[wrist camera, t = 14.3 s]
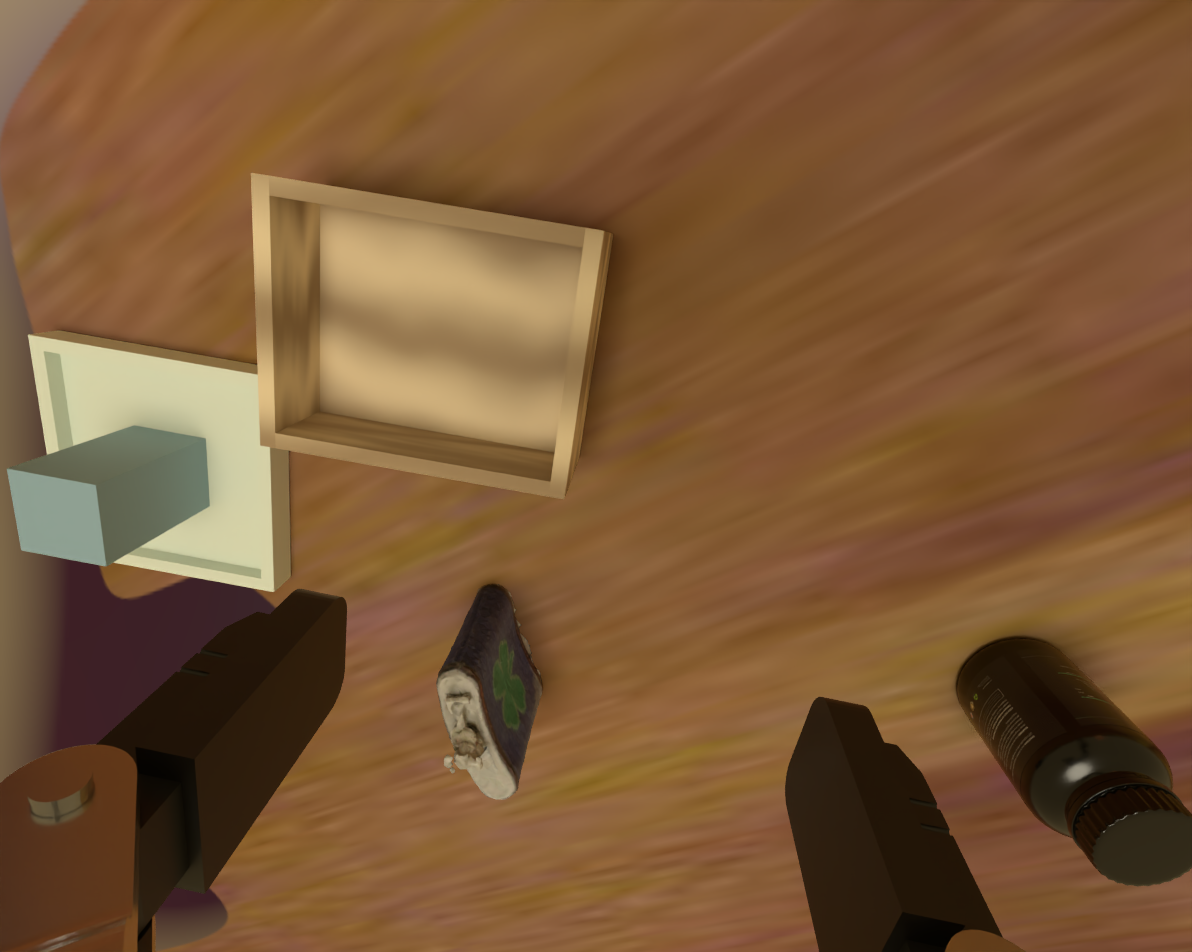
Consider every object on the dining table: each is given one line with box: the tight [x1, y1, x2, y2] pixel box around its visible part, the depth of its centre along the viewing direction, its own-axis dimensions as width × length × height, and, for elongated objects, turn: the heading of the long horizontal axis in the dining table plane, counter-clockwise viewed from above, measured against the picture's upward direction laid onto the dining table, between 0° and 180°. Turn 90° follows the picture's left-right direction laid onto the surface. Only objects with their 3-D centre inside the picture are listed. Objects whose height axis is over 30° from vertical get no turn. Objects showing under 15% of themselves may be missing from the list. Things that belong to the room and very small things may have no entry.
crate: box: [251, 173, 613, 499], centre depth 33 cm, size 13×16×6 cm
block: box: [7, 425, 210, 566], centre depth 35 cm, size 4×4×8 cm
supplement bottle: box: [957, 639, 1192, 886], centre depth 34 cm, size 7×7×12 cm
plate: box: [28, 330, 291, 592], centre depth 39 cm, size 14×14×2 cm
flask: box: [436, 584, 543, 799], centre depth 37 cm, size 9×3×11 cm, turn 15°
